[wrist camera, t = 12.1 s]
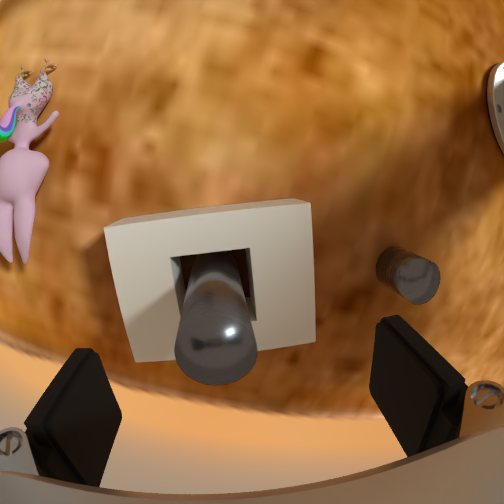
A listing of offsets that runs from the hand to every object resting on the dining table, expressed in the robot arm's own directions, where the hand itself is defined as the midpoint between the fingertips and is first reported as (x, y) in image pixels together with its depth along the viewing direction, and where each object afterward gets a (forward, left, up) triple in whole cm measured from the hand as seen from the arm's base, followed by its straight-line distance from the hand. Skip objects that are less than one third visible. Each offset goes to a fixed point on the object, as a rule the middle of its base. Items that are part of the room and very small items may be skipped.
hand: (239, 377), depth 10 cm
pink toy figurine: (+14, -10, -14) cm, 22 cm away
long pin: (+1, 0, -13) cm, 13 cm away
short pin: (-13, +2, -13) cm, 19 cm away
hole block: (+1, 0, -13) cm, 13 cm away
